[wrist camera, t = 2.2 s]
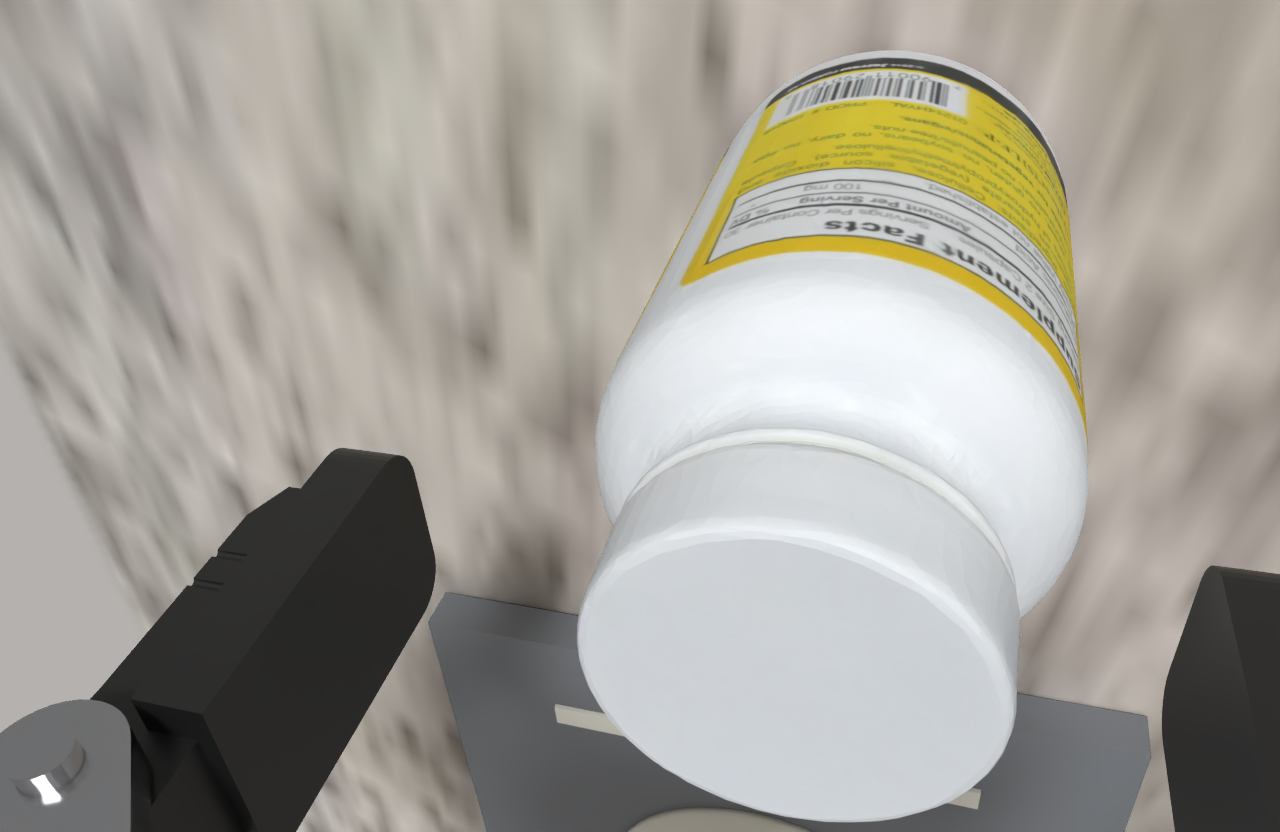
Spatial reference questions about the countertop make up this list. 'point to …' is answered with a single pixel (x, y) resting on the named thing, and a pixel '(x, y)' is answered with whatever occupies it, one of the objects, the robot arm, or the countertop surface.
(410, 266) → the countertop surface
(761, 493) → the supplement bottle
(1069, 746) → the slate board
